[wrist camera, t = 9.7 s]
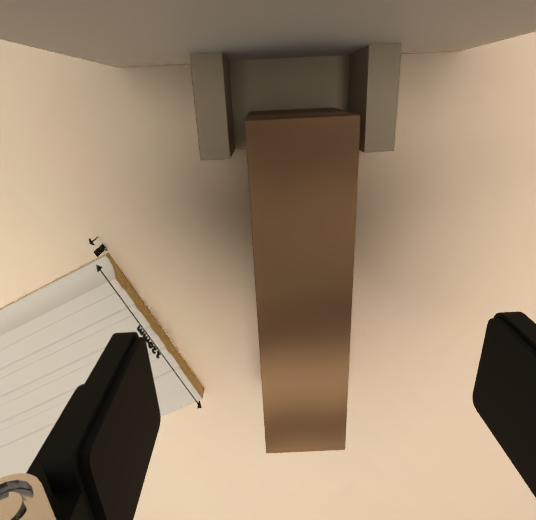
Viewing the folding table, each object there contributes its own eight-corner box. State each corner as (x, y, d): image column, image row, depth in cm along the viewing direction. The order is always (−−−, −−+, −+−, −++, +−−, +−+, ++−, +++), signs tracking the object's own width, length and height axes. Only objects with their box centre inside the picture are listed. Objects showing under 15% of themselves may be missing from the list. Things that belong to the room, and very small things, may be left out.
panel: (111, 37, 18) (-271, -127, 5) (463, 21, 18) (985, -188, 5) (131, 153, 20) (-111, 249, 7) (449, 138, 20) (804, 205, 7)
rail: (248, 111, 19) (244, 121, 14) (333, 107, 19) (360, 115, 14) (265, 379, 25) (266, 453, 20) (328, 377, 25) (345, 449, 20)
